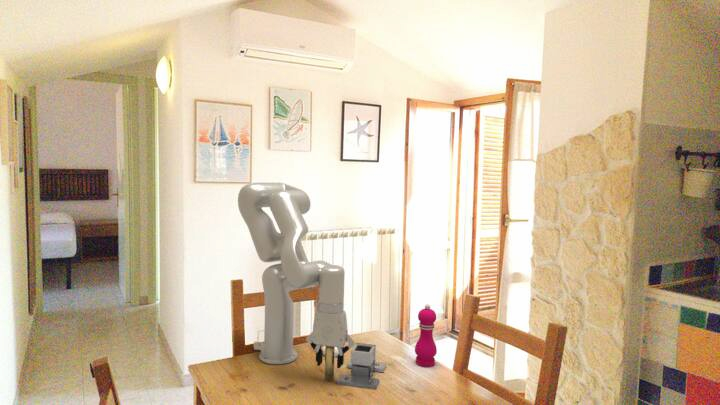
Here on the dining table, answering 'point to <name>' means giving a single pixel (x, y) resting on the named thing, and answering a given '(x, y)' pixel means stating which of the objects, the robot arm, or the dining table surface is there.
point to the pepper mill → (426, 338)
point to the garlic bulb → (335, 351)
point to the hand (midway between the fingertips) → (329, 364)
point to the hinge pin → (329, 363)
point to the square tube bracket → (365, 357)
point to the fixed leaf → (359, 377)
